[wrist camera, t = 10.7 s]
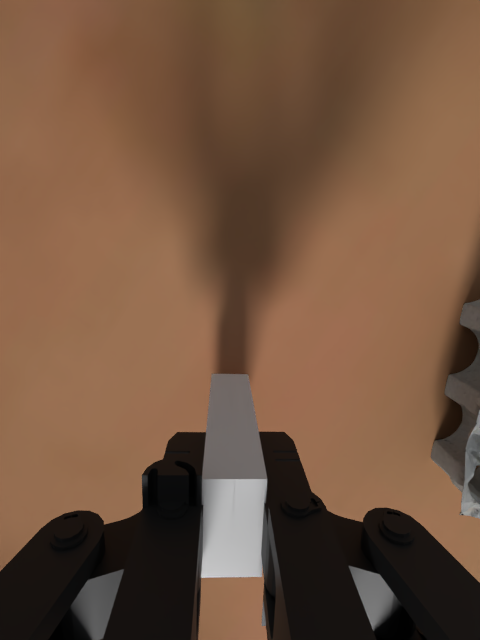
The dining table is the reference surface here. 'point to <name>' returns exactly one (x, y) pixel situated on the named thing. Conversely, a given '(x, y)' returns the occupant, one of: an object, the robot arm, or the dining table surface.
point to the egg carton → (464, 425)
